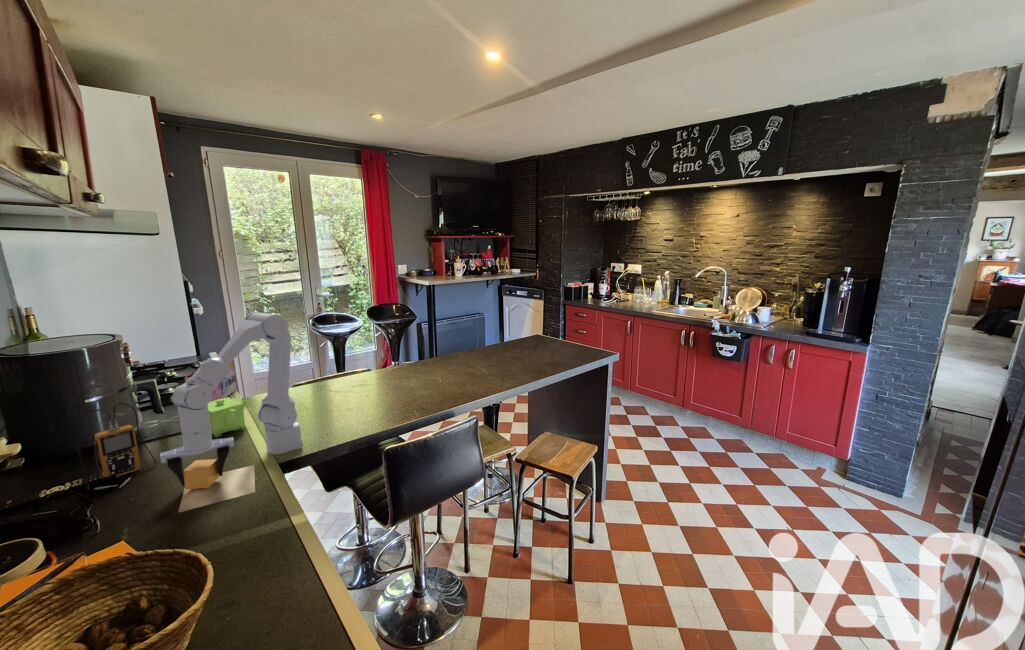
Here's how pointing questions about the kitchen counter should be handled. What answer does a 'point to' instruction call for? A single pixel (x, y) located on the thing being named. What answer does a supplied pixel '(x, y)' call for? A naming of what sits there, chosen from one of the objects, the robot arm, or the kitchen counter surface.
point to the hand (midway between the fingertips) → (202, 479)
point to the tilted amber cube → (201, 474)
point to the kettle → (226, 415)
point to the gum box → (223, 384)
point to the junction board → (220, 489)
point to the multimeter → (116, 450)
